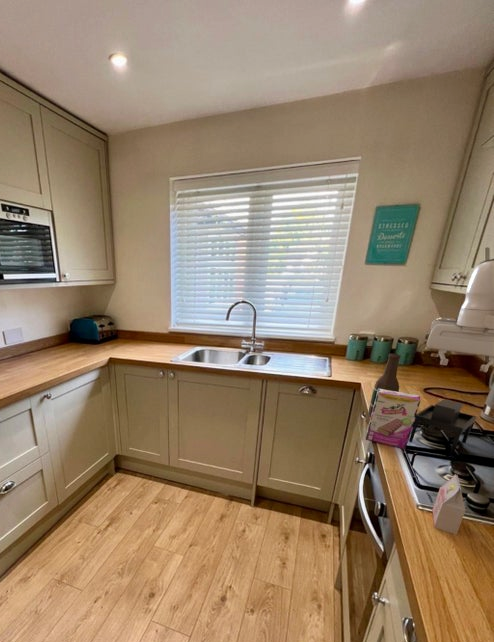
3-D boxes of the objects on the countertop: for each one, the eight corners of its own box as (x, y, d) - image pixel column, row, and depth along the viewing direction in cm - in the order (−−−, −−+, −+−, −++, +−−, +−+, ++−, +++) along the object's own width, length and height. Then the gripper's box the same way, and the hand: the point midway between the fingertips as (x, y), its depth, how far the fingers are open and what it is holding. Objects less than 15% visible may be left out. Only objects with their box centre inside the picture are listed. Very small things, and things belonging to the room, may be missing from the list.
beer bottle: (393, 417, 124) (410, 354, 115) (388, 423, 118) (405, 357, 110) (370, 411, 128) (385, 350, 120) (364, 417, 123) (379, 354, 115)
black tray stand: (466, 442, 105) (476, 416, 102) (453, 456, 96) (463, 428, 93) (423, 429, 114) (431, 404, 111) (407, 441, 105) (414, 414, 102)
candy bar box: (365, 440, 105) (376, 392, 99) (365, 434, 109) (377, 387, 103) (406, 450, 100) (421, 399, 94) (405, 443, 104) (420, 394, 98)
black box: (457, 418, 103) (462, 403, 101) (450, 424, 98) (455, 409, 97) (438, 413, 107) (443, 399, 105) (430, 419, 102) (435, 404, 100)
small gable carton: (452, 515, 72) (467, 476, 68) (456, 534, 67) (472, 493, 63) (432, 509, 74) (445, 471, 70) (433, 527, 68) (448, 486, 65)
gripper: (430, 317, 98) (418, 362, 103) (525, 324, 83) (506, 377, 88) (437, 316, 102) (425, 360, 106) (529, 323, 87) (510, 373, 91)
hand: (462, 368), depth 97 cm, fingers open, 8 cm apart
